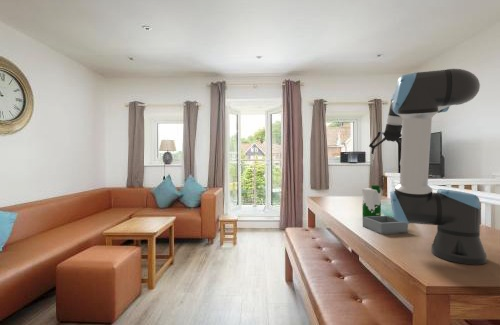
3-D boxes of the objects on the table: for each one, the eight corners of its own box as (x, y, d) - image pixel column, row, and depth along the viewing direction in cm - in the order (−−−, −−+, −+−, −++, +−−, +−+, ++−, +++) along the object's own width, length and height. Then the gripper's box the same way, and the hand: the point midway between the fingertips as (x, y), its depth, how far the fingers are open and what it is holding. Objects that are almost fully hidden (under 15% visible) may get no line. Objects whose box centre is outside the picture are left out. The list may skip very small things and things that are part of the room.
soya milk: (376, 223, 138) (376, 186, 137) (359, 220, 145) (360, 185, 144) (383, 220, 143) (383, 185, 143) (367, 217, 150) (367, 184, 150)
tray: (407, 232, 119) (407, 222, 119) (381, 234, 117) (381, 223, 117) (386, 225, 133) (386, 215, 133) (362, 226, 131) (362, 216, 131)
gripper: (422, 125, 131) (412, 164, 138) (369, 120, 143) (363, 156, 150) (422, 127, 125) (412, 168, 132) (367, 122, 137) (361, 159, 144)
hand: (386, 161), depth 141 cm, fingers open, 13 cm apart
